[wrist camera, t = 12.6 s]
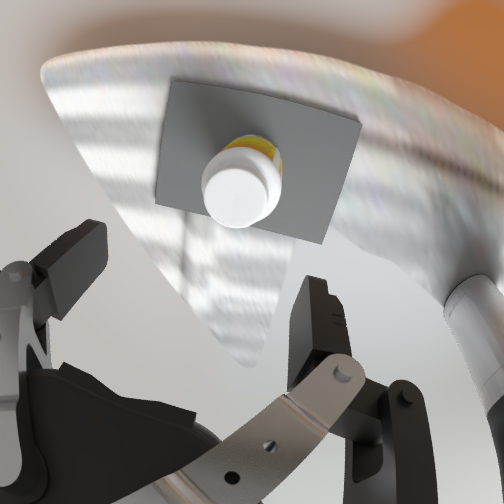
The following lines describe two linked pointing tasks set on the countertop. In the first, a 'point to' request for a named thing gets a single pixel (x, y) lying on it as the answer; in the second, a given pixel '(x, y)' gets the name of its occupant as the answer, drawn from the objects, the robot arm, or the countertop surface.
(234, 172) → the supplement bottle
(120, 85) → the countertop surface
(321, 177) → the mat
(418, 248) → the countertop surface
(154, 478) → the robot arm
